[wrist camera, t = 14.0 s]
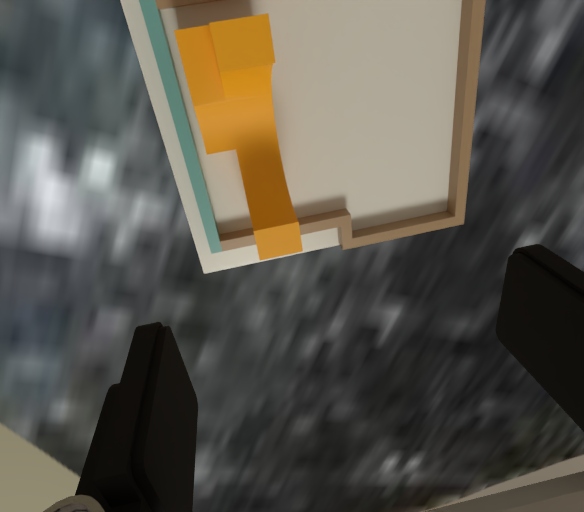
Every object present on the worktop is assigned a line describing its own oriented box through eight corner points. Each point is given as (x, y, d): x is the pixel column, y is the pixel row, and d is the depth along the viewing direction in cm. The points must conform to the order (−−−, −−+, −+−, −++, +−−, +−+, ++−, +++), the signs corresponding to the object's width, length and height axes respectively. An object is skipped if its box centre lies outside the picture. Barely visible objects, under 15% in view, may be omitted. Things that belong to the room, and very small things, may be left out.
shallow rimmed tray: (484, -105, 22) (505, -116, 20) (457, 215, 32) (469, 224, 31) (106, -52, 20) (97, -59, 19) (204, 269, 30) (203, 282, 29)
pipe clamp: (178, 31, 22) (167, 29, 16) (254, 18, 22) (268, 13, 17) (226, 221, 28) (230, 267, 23) (285, 209, 28) (303, 251, 23)
